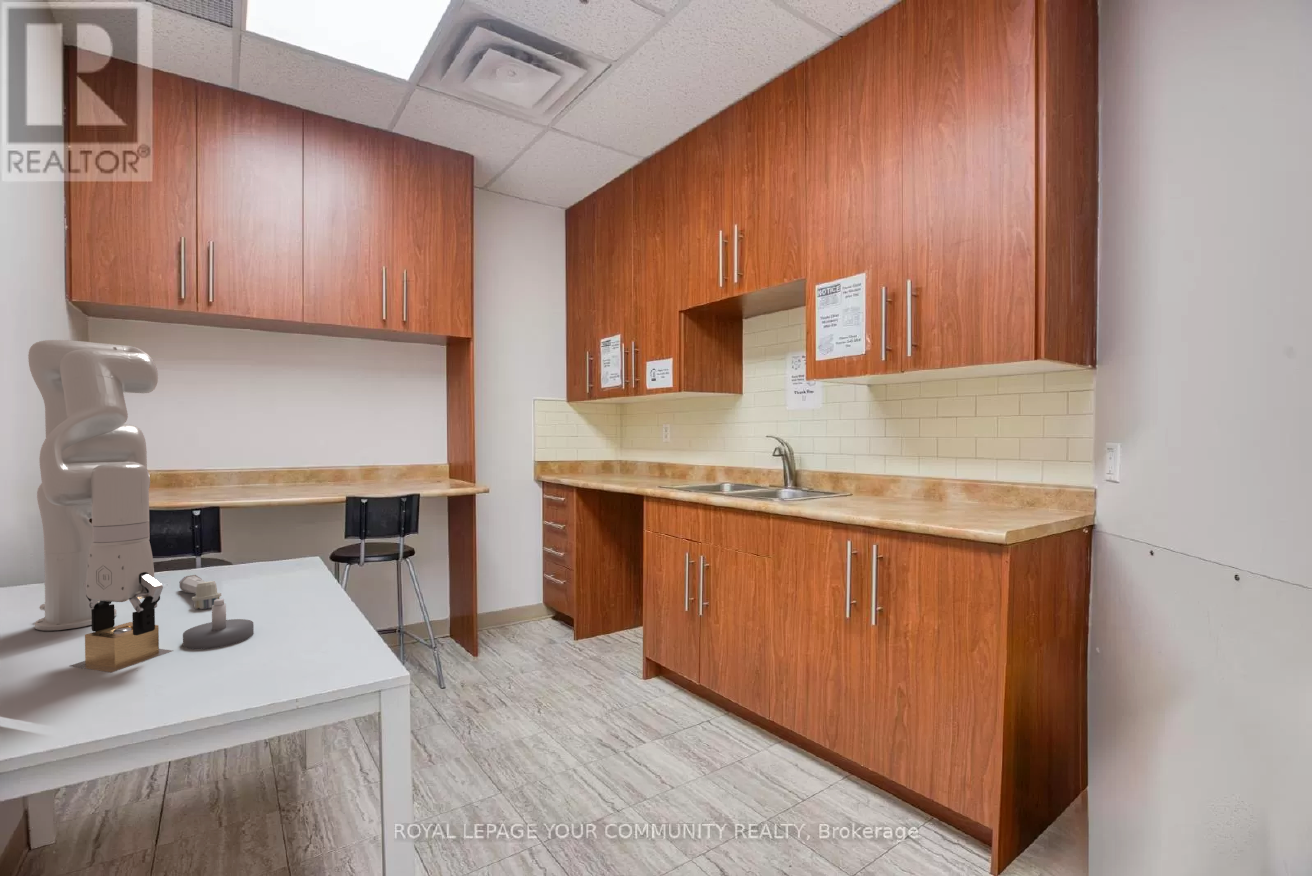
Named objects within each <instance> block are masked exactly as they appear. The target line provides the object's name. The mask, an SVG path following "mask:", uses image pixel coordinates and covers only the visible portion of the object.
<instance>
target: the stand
mask: <svg viewBox="0 0 1312 876" xmlns="http://www.w3.org/2000/svg"><path fill="white" fill-rule="evenodd" d="M131 630H132V628H121V629H117V630H114V631H113V634H121V633H124V632H128V631H131ZM172 652H174V650H171V649H164V648H159V653H157V654H154V655H151V656H148V657H145V658H142V659H139V660H136V661H133V662H130V663H127V664H125V665H122V666H119V667H116V668H113V667H106V666H99V665H92V664H85V660H83V661H80V662H76V663H73V664H70V665H69V667H72V668H77V669H78V668H79V669H84V670H85V669H86V670H91V671H98V672H105V673H114V672H117V671H120V670H122V669H127V668H128V667H130V666H134V665H137V664H139V663H143V662H145V661H149V660H151V659H154V658H157V657H160V656H163V655H166V654H170V653H172Z"/></svg>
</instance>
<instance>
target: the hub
mask: <svg viewBox="0 0 1312 876" xmlns="http://www.w3.org/2000/svg"><path fill="white" fill-rule="evenodd" d="M254 625H255V624H254V622H253V621H252V620H249V619H245V618H243V619H242V618H237V619H235V618H234V619H232V618H231V619H227V604H226V603H225V599H224V598H220V599H216V600H214V605H212V607H211V622H206V623H202V624H199V625H196V626H193V627H191V628H189V629H187V630H185V631H184V632H183V633H182V646H183V648H185V649H189V650H210V649H217V648H223V647H228V646H232V645H235V644H238V643H241V642H243V641H246V640H249V639H250V638H251V637H253V636H254V634H255V633H254V632H255V631H254Z"/></svg>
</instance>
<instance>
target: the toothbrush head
mask: <svg viewBox="0 0 1312 876" xmlns="http://www.w3.org/2000/svg"><path fill="white" fill-rule="evenodd" d="M179 589H180V590H181V591H182V592H184V593H185V594H189V593H190V594H194V595H195V596H191V601H193V604H194V605H193V607H194V610H198V609H200V610H202V609H212V605H214V600H216V599H221V597H222V593H221V592H218V586H217V583H216V581H214V580H208V581H205V580H203V579H202V578H201V577H200V576H198V575H196V574H192V575H190V574H189V575H186V576H183V578H182V579H180V581H179Z"/></svg>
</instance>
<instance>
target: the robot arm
mask: <svg viewBox="0 0 1312 876" xmlns="http://www.w3.org/2000/svg"><path fill="white" fill-rule="evenodd" d="M27 356H28V366H29V367H28V368H29V370H30V374H31V376H32V378H33V381H34V384H35V385H36V387H37V388H38V390H39V391H38V392H39V393H40V394H41V395H40V396H41V397H42V400H43V403H44V415H45V416H44V419H45V425H44V426H45V439H44V440H43V443H42V445H41V447H40V451H39V468H40V469H39V471H40V478H41V483H40V484H39V486H38V488H37V491H36V499H37V504H38V509H39V514H40V518H41V523H42V531H43V532H42V533H43V551H44V552H43V554H44V555H43V558H44V559H43V560H44V564H43V565H44V603H42V604H40V606H39V610H41V611H44V617H42V618H40V619H38V620H36V621H35V622H34V629H36V630H38V631H44V632H45V631H47V632H49V631H50V632H51V631H52V632H53V631H63V630H72V629H78V628H84V627H88V626H91V631H92V632H96V631H100V630H103V629H107V628H110V627H114V626H116V625H115V624H116V623H115V617H116V616H117V614H118V613H117V610H116V608H115V604H114V603H123V602H128V601H129V602H130V603H131V605H132V607H133V609H134V610H135V611H132V622H133V635H140V634H144V633H147V632H150V631H153V630H154V629H155V625H156V617H155V616H156V614H155V613H156V612H155V609H156V608H157V607H158V603H159V601H160V599H161V594H162V592H163V589H164V586H163V584H162V583H160V582H159V581H158V580H157V579H155V568H154V567H155V566H154V559H153V558H154V557H153V551H152V546H151V543H150V535H151V534H150V533H151V532H150V530H151V529H150V498H149V497H150V492H149V491H150V487H151V477H150V472H149V471H148V459H147V458H148V456H147V455H148V454H147V453H148V452H147V443H146V437H145V435H144V433H143V432H142V430H141V428H139V427H137V426H135V425H132V424H128V423H127V424H126V422H127V421H128V418H129V416H128V415H129V413H128V410H127V406H126V400H125V395H124V393H125V394H126V393H127V394H150V393H152V392H153V391H154V390H155V389H156V387H157V385H158V382H159V380H158V379H159V373H158V368H157V365H156V364H155V361H154V360H153V358H152V357H151V356H150V355H149V354H148V353H147V352H145V351H143V349H141V348H138V347H137V346H136V347H135V346H132V345H124V344H123V345H122V344H114V343H104V342H103V343H101V342H92V341H91V342H90V341H82V340H81V341H80V340H69V339H45V340H39V341H37V342H35V343H33V344H32V345H30V348H29V349H28V355H27ZM90 519H91V522H90ZM142 599H143V600H142ZM140 600H142V601H140Z"/></svg>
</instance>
